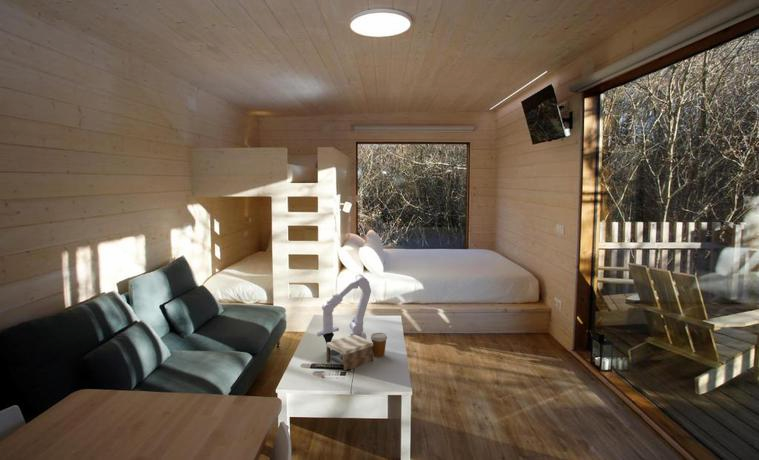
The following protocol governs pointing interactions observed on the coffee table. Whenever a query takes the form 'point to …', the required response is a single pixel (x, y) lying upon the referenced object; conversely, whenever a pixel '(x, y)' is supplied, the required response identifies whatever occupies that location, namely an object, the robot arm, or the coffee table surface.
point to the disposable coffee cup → (379, 344)
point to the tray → (337, 356)
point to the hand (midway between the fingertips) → (328, 345)
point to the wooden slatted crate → (352, 350)
